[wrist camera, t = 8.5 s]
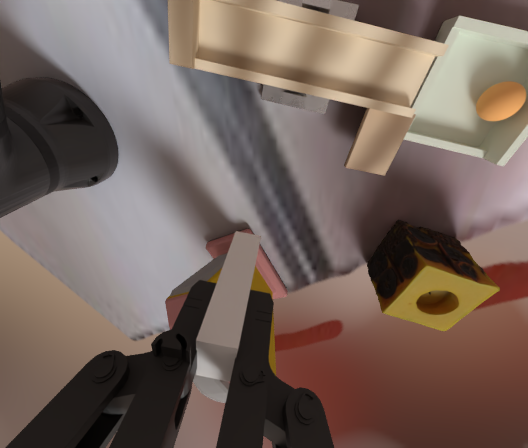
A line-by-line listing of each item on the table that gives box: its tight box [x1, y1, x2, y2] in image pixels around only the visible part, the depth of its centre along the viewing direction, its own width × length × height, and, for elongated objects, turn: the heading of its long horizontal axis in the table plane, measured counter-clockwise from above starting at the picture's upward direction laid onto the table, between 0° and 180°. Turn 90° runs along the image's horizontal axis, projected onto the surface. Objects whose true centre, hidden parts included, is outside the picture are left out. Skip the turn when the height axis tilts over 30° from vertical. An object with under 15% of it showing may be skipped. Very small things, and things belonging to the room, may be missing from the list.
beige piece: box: [168, 0, 449, 176], centre depth 24 cm, size 25×13×4 cm, turn 79°
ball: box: [476, 81, 526, 121], centre depth 24 cm, size 4×4×4 cm
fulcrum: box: [261, 0, 359, 114], centre depth 24 cm, size 8×10×6 cm
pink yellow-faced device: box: [165, 229, 287, 403], centre depth 37 cm, size 22×9×22 cm, turn 28°
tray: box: [404, 16, 528, 166], centre depth 24 cm, size 11×11×5 cm
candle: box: [367, 220, 500, 331], centre depth 34 cm, size 10×10×10 cm
